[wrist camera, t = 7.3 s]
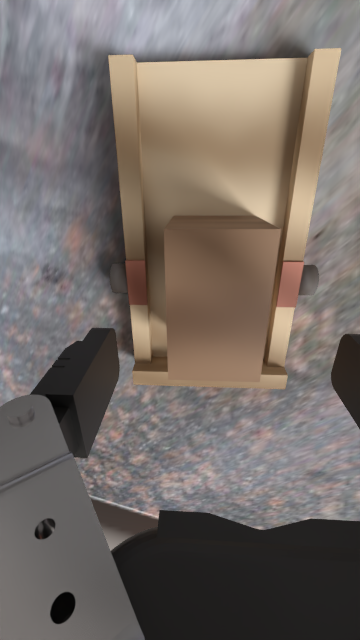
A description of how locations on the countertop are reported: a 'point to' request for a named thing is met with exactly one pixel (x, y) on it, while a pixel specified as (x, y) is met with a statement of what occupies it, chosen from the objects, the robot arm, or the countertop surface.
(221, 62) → the wooden tray
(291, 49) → the countertop surface
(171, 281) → the block
